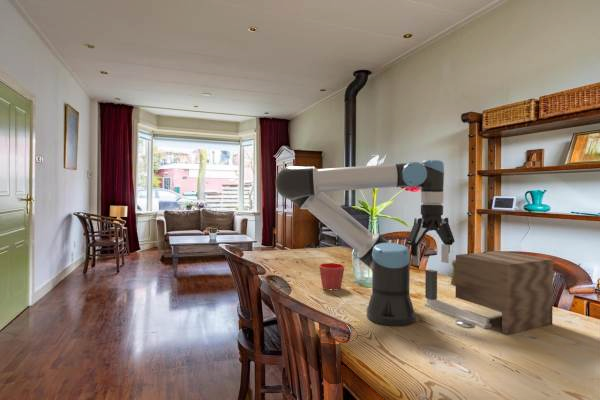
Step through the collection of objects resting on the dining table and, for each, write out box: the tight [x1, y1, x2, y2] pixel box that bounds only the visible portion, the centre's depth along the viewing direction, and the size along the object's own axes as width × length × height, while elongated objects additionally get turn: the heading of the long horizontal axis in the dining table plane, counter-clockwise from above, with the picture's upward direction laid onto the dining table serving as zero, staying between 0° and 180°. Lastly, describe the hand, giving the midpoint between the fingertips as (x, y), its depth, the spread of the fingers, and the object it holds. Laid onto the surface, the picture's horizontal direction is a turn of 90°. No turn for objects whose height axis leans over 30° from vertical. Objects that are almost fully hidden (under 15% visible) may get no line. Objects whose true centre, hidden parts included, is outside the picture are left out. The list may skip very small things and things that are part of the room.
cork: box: [450, 259, 456, 287], centre depth 158 cm, size 6×6×11 cm
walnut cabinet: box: [455, 250, 554, 336], centre depth 113 cm, size 21×18×20 cm
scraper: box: [424, 269, 492, 329], centre depth 117 cm, size 3×24×13 cm, turn 25°
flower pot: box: [319, 262, 345, 291], centre depth 152 cm, size 11×11×10 cm
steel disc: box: [455, 319, 474, 329], centre depth 109 cm, size 5×5×1 cm
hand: (430, 263), depth 127 cm, fingers open, 13 cm apart
